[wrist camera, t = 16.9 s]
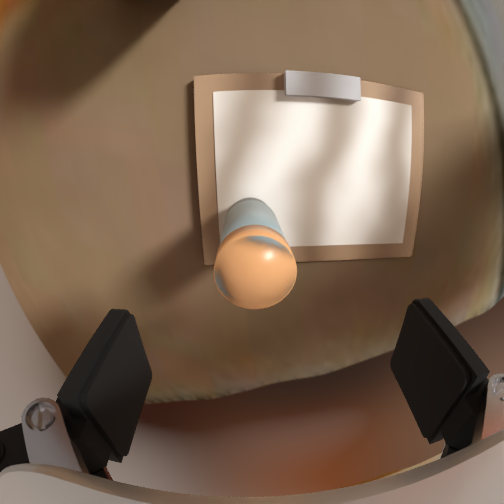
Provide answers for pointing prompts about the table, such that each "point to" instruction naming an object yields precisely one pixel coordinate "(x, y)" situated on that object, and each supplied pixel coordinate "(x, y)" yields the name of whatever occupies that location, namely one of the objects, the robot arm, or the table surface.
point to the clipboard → (312, 160)
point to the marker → (254, 257)
